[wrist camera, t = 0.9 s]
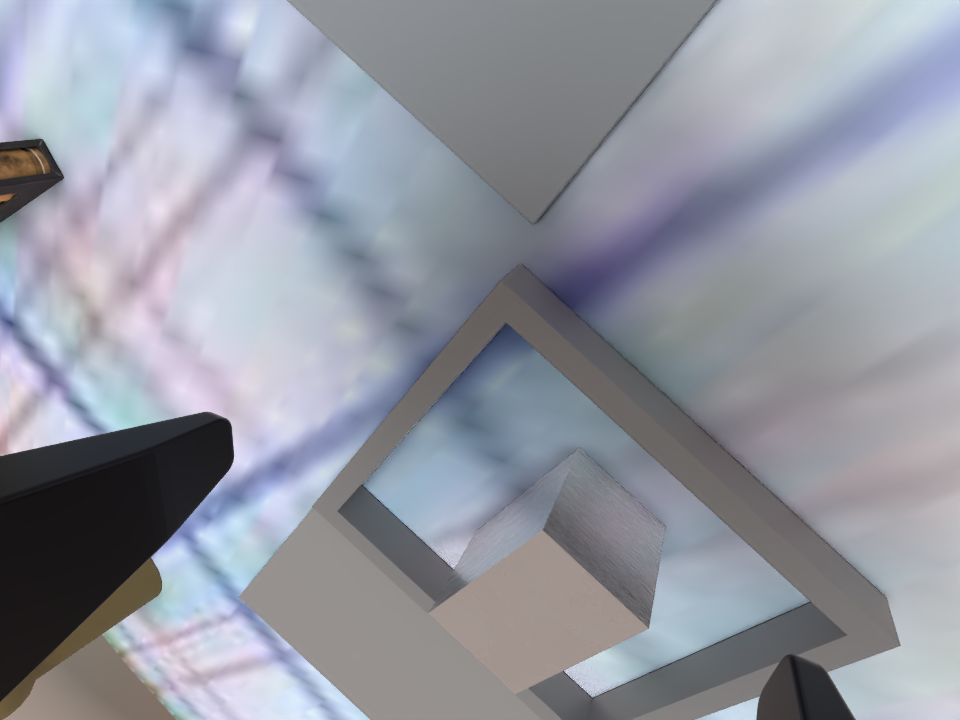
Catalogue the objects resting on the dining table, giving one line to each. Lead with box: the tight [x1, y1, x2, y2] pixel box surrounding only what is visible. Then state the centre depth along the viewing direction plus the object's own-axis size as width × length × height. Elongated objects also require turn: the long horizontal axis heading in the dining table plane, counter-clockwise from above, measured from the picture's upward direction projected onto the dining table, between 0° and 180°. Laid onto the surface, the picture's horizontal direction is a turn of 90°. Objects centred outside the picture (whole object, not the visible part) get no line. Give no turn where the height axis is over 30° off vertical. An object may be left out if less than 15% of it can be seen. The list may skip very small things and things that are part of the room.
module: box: [428, 448, 666, 694], centre depth 22 cm, size 4×7×5 cm, turn 142°
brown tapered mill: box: [0, 558, 162, 720], centre depth 35 cm, size 6×6×11 cm
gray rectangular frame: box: [239, 264, 900, 720], centre depth 26 cm, size 17×28×2 cm, turn 142°
